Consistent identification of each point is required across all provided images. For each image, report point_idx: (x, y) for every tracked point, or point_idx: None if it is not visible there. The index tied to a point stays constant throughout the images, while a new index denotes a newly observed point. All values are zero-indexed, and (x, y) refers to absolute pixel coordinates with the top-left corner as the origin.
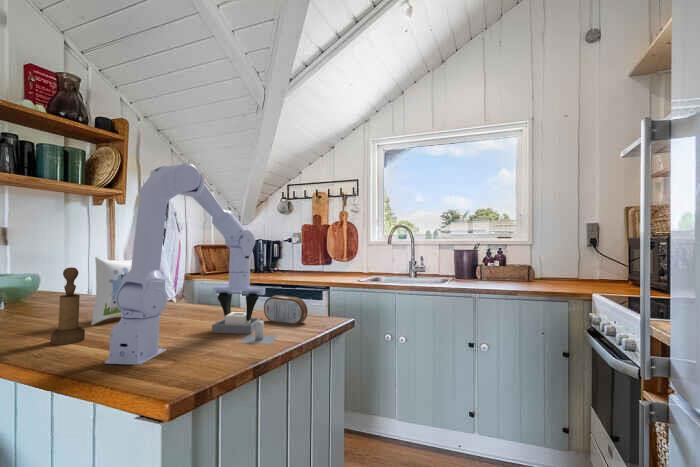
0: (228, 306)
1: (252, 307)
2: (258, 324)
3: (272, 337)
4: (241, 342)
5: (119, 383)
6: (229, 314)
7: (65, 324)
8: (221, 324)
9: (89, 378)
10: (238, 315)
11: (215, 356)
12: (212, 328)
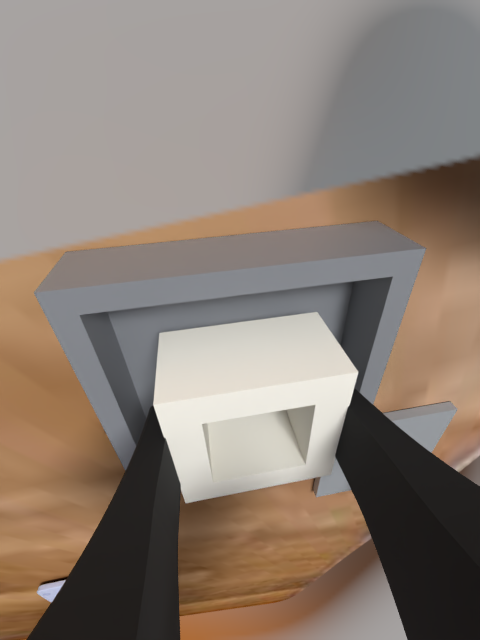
0: (167, 548)
1: (413, 462)
2: None
3: (429, 433)
4: (324, 492)
5: (188, 610)
6: (189, 471)
7: None
8: (132, 411)
9: None
10: (277, 470)
11: (280, 538)
12: None
